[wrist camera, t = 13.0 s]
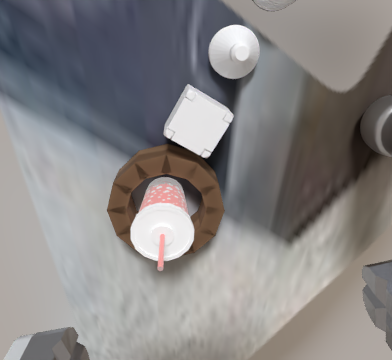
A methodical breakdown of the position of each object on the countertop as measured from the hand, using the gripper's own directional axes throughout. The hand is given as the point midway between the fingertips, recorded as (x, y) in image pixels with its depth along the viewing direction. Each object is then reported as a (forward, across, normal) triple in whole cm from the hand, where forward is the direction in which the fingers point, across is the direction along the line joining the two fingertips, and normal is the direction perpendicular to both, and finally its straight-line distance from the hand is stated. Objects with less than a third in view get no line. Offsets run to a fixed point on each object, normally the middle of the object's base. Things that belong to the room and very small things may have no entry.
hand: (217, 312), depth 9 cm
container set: (+29, -5, -5) cm, 30 cm away
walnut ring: (+28, +6, +9) cm, 30 cm away
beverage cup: (+28, +6, +9) cm, 30 cm away
